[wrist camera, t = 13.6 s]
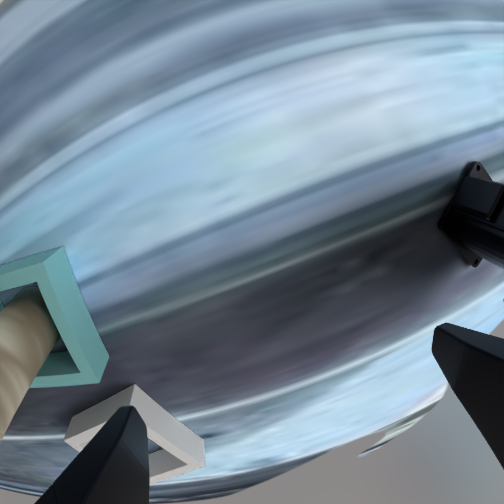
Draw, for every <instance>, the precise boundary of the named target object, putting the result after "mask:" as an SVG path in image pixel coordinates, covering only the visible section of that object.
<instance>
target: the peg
mask: <svg viewBox="0 0 504 504" xmlns="http://www.w3.org/2000/svg"><path fill="white" fill-rule="evenodd" d="M60 336H61V335H60V333H59V331H58V329H57V327H56V325H55V323H54V321H53V319H52V317H51V314H50V312H49V310H48V308H47V305H46V303H45V301H44V299H43V296H42V294H41V291H40V289H39V288H38V287H27V288H24V289H23V290H22V291H21V292H19V293H18V294H17V295H16V296H15V297H14V298H13V299H12V300H11V301H10V302H9V303H8V304H7V305H6V306H5V307H4V308H3V309H2V310H1V311H0V442H1V440H2V438H3V436H4V434H5V432H6V430H7V428H8V426H9V424H10V422H11V420H12V418H13V416H14V415H15V413H16V411H17V409H18V407H19V405H20V403H21V401H22V400H23V398H24V396H25V394H26V392H27V391H28V389H29V387H30V385H31V384H32V382H33V380H34V378H35V377H36V375H37V373H38V372H39V370H40V368H41V367H42V365H43V363H44V362H45V360H46V358H47V357H48V355H49V354H50V352H51V350H52V349H53V347H54V346H55V344H56V342H57V341H58V339H59V338H60Z"/></svg>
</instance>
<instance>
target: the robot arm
mask: <svg viewBox="0 0 504 504" xmlns="http://www.w3.org/2000/svg"><path fill="white" fill-rule="evenodd" d="M476 166H477V169H476ZM444 223H445V226H444V227H443V225H444ZM438 228H439V230H440V231H441V232H442V233H443V234H444V235H445V237H446V238H447V239H448V240H449V241H450V242H451V243H452V244H453V245H454V247H455V248H456V249H457V250H458V251H459V252H460V253H461V255H462V256H463V257H464V258H465V259H466V260H467V262H468V263H469V264H470V265H471V266H473V267H477V266H478V265H479V263H480V262H481V260H482V258H484V259H486V260H487V261H489V262H491V263H493V264H495V265H497V266H499V267H500V268H502V269H504V184H502V183H498V182H494V181H492V179H491V178H490V176H489V175H488V173H487V172H486V170H485V169H484V167H483V166H482V164H481V163H480V162H477V161H474V162H472V164H471V166H470V168H469V169H468V171H467V173H466V175H465V177H464V179H463V181H462V182H461V184H460V186H459V188H458V190H457V191H456V193H455V195H454V197H453V198H452V200H451V202H450V203H449V205H448V207H447V209H446V210H445V212H444V214H443V215H442V217H441V218H440V220H439V222H438ZM503 301H504V300H503ZM432 353H433V356H434V358H435V359H436V361H437V363H438V365H439V366H440V368H441V370H442V372H443V374H444V375H445V377H446V379H447V381H448V383H449V385H450V386H451V388H452V390H453V391H454V393H455V394H456V396H457V397H458V399H459V400H460V402H461V403H462V404H463V406H464V408H465V409H466V411H467V412H468V414H469V415H470V416H471V418H472V420H473V421H474V422H475V424H476V426H477V427H478V429H479V430H480V432H481V433H482V435H483V437H484V438H485V440H486V441H487V443H488V444H489V446H490V447H491V449H492V451H493V452H494V454H495V456H496V457H497V459H498V461H499V462H500V464H501V466H502V467H503V469H504V339H502V338H499V337H495V336H492V335H488V334H485V333H481V332H478V331H474V330H471V329H467V328H464V327H460V326H457V325H453V324H450V323H444V324H441V325H439V326H437V327H436V328H435V330H434V335H433V342H432ZM149 484H150V470H149V455H148V438H147V427H146V424H145V422H144V421H143V419H142V417H141V416H140V414H139V413H138V411H137V409H136V408H135V407H134V406H132V405H130V406H121V407H119V408H118V409H117V411H116V412H115V413H114V414H113V415H112V416H111V417H110V419H109V420H108V421H107V422H106V423H105V424H104V425H103V427H102V428H101V429H100V430H99V431H98V432H97V433H96V435H95V436H94V437H93V438H92V439H91V440H90V441H89V443H88V444H87V445H86V446H85V447H84V448H83V449H82V451H81V452H80V453H79V454H78V455H77V456H76V457H75V459H74V460H73V461H72V462H71V463H70V464H69V465H68V467H67V468H66V469H65V470H64V471H63V472H62V473H61V475H60V476H59V477H58V478H57V479H56V480H55V481H54V483H53V485H51V486H50V487H49V488H48V489H47V490H46V492H45V493H44V494H43V495H42V496H41V497H40V498H39V499H38V500H37V501H36V502H35V504H149Z"/></svg>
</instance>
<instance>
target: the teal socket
mask: <svg viewBox="0 0 504 504" xmlns="http://www.w3.org/2000/svg"><path fill="white" fill-rule="evenodd" d="M34 282H37V284H38V287H39V289H40V291H41V294H42V296H43V299H44V301H45V303H46V305H47V308H48V310H49V312H50V314H51V317H52V319H53V321H54V323H55V325H56V327H57V329H58V331H59V333H60V335H61V337H62V339H63V341H64V343H65V345H66V347H67V349H68V351H63V352H55V353H50V354H49V355H48V357H47V358H46V360H45V362H44V363H43V365H42V367H41V368H40V370H39V372H38V373H37V375H36V377H35V378H34V380H33V382H32V384H31V385H30V387H29V388H42V387H59V386H73V385H84V384H95V383H100V380H101V378H102V375H103V372H104V370H105V367H106V364H107V362H108V359H109V355H108V353H107V350H106V348H105V346H104V344H103V342H102V340H101V338H100V336H99V334H98V332H97V329H96V327H95V325H94V323H93V321H92V318H91V316H90V314H89V311H88V309H87V307H86V304H85V302H84V299H83V297H82V295H81V292H80V290H79V287H78V284H77V282H76V279H75V277H74V274H73V271H72V269H71V266H70V263H69V260H68V257H67V254H66V252H65V249H64V246H61V247H58V248H54V249H51V250H48V251H44V252H41V253H38V254H35V255H31V256H28V257H25V258H22V259H19V260H16V261H12V262H9V263H6V264H3V265H0V291H4V290H8V289H11V288H15V287H19V286H23V285H27V284H30V283H34ZM3 308H4V306H3V304H2V302H1V300H0V311H1V310H2V309H3Z"/></svg>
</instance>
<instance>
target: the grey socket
mask: <svg viewBox="0 0 504 504" xmlns="http://www.w3.org/2000/svg"><path fill="white" fill-rule="evenodd" d="M130 405H132V406H134V407H135V408H136V409H137V411H138V413H139V414H140V416H141V417H142V419H143V421H144V422H145V424H146V427H147V437H148V438H149V439H151V440H152V441H154V442H155V443H156V444H158V445H159V446H161V447H162V448H164V449H161V450H158V451H156V452H153V453H150V454H148V455H149V470H150V484H152V483H156V482H159V481H162V480H166V479H169V478H172V477H175V476H178V475H181V474H184V473H187V472H190V471H193V470H196V469H199V468H201V467H204V466H205V449H204V440H203V439H202V438H201V437H199V436H198V435H197V434H195V433H194V432H193V431H191V430H190V429H189V428H187V427H186V426H185V425H183V424H182V423H181V422H180V421H178V420H177V419H176V418H175V417H173V416H172V415H171V414H170V413H168V412H167V411H166V410H165V409H163V408H162V407H161V406H160V405H159V404H157V403H156V402H155V401H154V400H153V399H152V398H150V397H149V396H148V395H147V394H146V393H145V392H144V391H142V390H141V389H140V388H139V387H138V386H137V385H136V384H133V385H131V386H130V387H128V388H126V389H124V390H122V391H120V392H119V393H117V394H115V395H113V396H111V397H109V398H107V399H105V400H104V401H102V402H100V403H98V404H96V405H94V406H92V407H90V408H88V409H86V410H84V411H82V412H81V413H79V414H77V415H75V416H73V417H72V419H71V421H70V424H69V427H68V429H67V432H66V435H65V438H64V441H65V442H66V443H68V444H69V445H70V446H72V447H73V448H74V449H76V450H77V451H78V452H81V451H82V449H83V448H84V447H85V446H86V445H87V444H88V443H89V441H90V440H91V439H92V438H93V437H94V436H95V435H96V433H97V432H98V431H99V430H100V429H101V428H102V427H103V425H104V424H105V423H106V422H107V421H108V420H109V419H110V417H111V416H112V415H113V414H114V413H115V412H116V411H117V409H118V408H119V407H121V406H130Z"/></svg>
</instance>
